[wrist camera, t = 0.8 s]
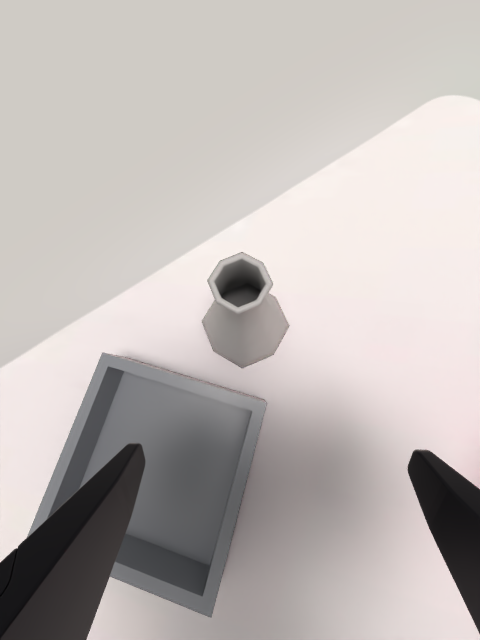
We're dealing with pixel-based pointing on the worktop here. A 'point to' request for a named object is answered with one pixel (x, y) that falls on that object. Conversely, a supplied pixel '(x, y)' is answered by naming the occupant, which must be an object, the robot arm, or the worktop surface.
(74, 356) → the worktop surface
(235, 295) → the flask
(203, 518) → the box
